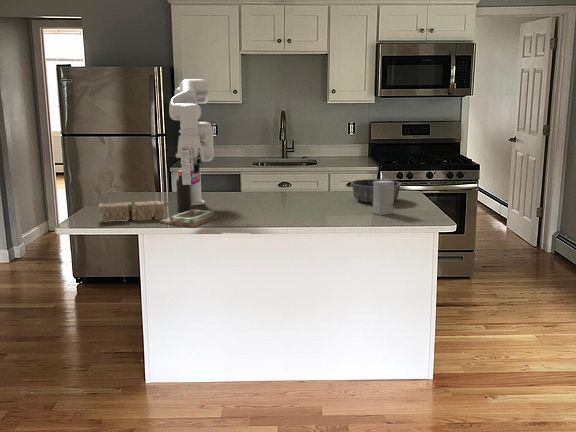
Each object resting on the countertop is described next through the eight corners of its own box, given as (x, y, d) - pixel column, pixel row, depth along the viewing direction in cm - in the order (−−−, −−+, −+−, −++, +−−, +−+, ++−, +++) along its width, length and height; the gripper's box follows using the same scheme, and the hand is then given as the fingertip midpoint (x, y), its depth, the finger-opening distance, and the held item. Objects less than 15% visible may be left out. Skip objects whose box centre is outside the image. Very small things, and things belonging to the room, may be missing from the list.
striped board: (159, 223, 284) (159, 216, 283) (185, 214, 302) (184, 208, 301) (193, 227, 277) (192, 219, 276) (217, 217, 294) (216, 211, 293)
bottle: (185, 212, 307) (183, 172, 302) (174, 210, 310) (172, 170, 306) (194, 209, 312) (192, 170, 308) (183, 208, 316) (182, 169, 312)
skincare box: (380, 215, 298) (381, 182, 294) (371, 212, 304) (372, 180, 300) (394, 213, 301) (395, 181, 298) (385, 211, 308) (386, 179, 304)
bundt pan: (370, 194, 352) (371, 176, 350) (410, 200, 334) (411, 182, 331) (340, 201, 334) (340, 182, 331) (380, 208, 315) (381, 188, 313)
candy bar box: (190, 181, 290) (188, 145, 287) (200, 181, 289) (199, 146, 286) (181, 185, 280) (179, 148, 276) (191, 185, 278) (190, 148, 275)
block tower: (163, 217, 300) (99, 219, 292) (162, 200, 299) (99, 202, 291) (164, 221, 293) (99, 223, 285) (164, 203, 291) (98, 205, 283)
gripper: (168, 132, 280) (170, 172, 284) (200, 134, 273) (202, 174, 276) (178, 131, 286) (179, 170, 290) (210, 132, 279) (211, 172, 283)
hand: (190, 172), depth 283 cm, fingers closed on candy bar box, 5 cm apart
